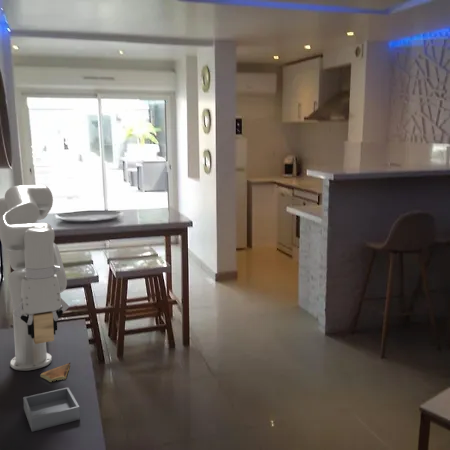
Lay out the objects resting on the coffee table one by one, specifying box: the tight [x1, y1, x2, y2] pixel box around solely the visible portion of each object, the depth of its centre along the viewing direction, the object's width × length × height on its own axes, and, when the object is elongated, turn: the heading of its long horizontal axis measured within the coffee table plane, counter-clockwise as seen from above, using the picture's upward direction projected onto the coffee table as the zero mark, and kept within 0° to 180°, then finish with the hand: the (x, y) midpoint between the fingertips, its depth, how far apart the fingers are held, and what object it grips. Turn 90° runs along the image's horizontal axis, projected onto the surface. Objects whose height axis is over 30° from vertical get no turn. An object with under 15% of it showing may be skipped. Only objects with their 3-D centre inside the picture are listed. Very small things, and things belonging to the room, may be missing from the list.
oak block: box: [32, 312, 55, 344], centre depth 141 cm, size 5×5×8 cm
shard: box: [40, 362, 71, 383], centre depth 155 cm, size 11×8×2 cm
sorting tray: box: [22, 387, 81, 433], centre depth 132 cm, size 12×12×4 cm
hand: (42, 334), depth 141 cm, fingers closed on oak block, 5 cm apart
